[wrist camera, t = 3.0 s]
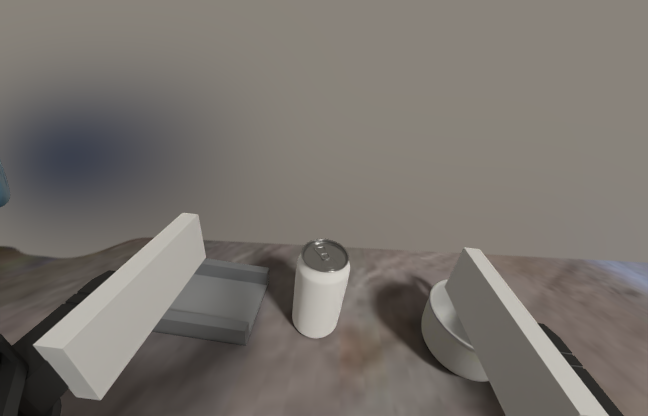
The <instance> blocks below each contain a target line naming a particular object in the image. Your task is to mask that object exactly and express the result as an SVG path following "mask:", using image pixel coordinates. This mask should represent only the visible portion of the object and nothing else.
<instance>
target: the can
mask: <svg viewBox="0 0 648 416" xmlns="http://www.w3.org/2000/svg"><path fill="white" fill-rule="evenodd" d="M349 272H350V264H349V254H348V252H347V250H346V249H345V248H344V247H343V246H342V245H341V244H339V243H337V242H335V241H332V240H328V239H316V240H313V241H310V242H308V243H307V244H305V245H304V247H303V248H302V251H301V254H300V255H299V257H298V260H297V266H296V276H295V287H294V298H293V310H292V320H293V323H294V326H295V327H296V329H297V330H298V331H299V332H300V333H301V334H303V335H305V336H307V337H311V338H322V337H325V336H327V335H328V334H330V333H331V332H332V331H333V330H334V329H335V327H336V325H337V321H338V318H339V314H340V310H341V306H342V302H343V298H344V294H345V290H346V285H347V281H348V277H349Z"/></svg>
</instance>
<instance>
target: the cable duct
mask: <svg viewBox="0 0 648 416" xmlns="http://www.w3.org/2000/svg"><path fill="white" fill-rule="evenodd" d="M140 250H141V249H140ZM140 250H139V251H140ZM139 251H138V252H139ZM138 252H137V253H138ZM137 253H136V254H137ZM268 283H269V268H267V267H261V266H254V265H247V264H240V263H234V262H227V261H220V260H214V259H207V258H205V259H204V261H203V262H202V263H201V265H200V266H199V267H198V269H197V270H196V272H195V273H194V274H193V276H192V277H191V278H190V280H189V281H188V282H187V284H186V285H185V286H184V288H183V289H182V291H181V292H180V293H179V295H178V296H177V297H176V299H175V300H174V301H173V303H172V304H171V306H170V307H169V308H168V310H167V311H166V312H165V314H164V315H163V316H162V318H161V319H160V320H159V322H158V323H157V325H156V326H155V327H154V329H153V330H152V331H153V332H159V333H166V334H172V335H179V336H186V337H192V338H199V339H205V340H212V341H219V342H225V343H232V344H238V345H245V346H246V344H247V341H248V338H249V336H250V333H251V330H252V327H253V325H254V322H255V319H256V316H257V313H258V311H259V308H260V305H261V302H262V300H263V297H264V294H265V291H266V288H267V286H268Z"/></svg>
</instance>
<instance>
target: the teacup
mask: <svg viewBox="0 0 648 416" xmlns="http://www.w3.org/2000/svg"><path fill="white" fill-rule="evenodd" d="M447 281H448V279H445V280H442V281H439V282H437V283H436V284H435V285H434V286H433V287H432V289H431V291H430V294H429V298H428V301H427V303H426V306H425V309H424V312H423V315H422V321H421V329H422V334H423V338H424V340H425V343H426V345H427V346H428V348H429V350H430V351H431V353H432V354H433V355H434V356H435V358H436V359H437V360H438V361H439V362H440V363H441V364H442V365H443V366H445V367H446V368H447V369H449V370H450V371H452V372H453V373H455V374H457V375H459V376H461V377H463V378H466V379H469V380H472V381H479V382H485V381H489V380H488V378H487V375H486V373H485V371H484V369H483V367H482V365H481V363H480V361H479V359H478V357H477V354H476V352H475V350H474V348H473V346H472V344H471V342H470V340H469V338H468V336H467V333H466V331H465V329H464V327H463V325H462V323H461V321H460V319H459V317H458V315H457V312H456V310H455V308H454V306H453V304H452V302H451V300H450V298H449V296H448V294H447V291H446V289H445V285H446V283H447Z"/></svg>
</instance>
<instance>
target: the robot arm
mask: <svg viewBox="0 0 648 416" xmlns="http://www.w3.org/2000/svg"><path fill="white" fill-rule="evenodd" d="M9 199H10V190H9V186H8V182H7V178H6V175H5V172H4V169H3V166H2V163H1V160H0V207H2V206H4V205H5V204H6V203H7V202H8V201H9ZM205 258H206V255H205V250H204V244H203V239H202V233H201V228H200V222H199V217H198V215H196V214H189V213H182V214H181V215H180V216H178V217H177V218H176V219H175V220H174V221H173V222H172V223H171V224H169V225H168V226H167V227H166V228H165V229H164V230H163V231H162V232H160V233H159V234H158V235H157V236H156V237H155V238H154V239H152V240H151V241H150V242H149V243H148V244H147V245H146V246H144V247H143V248H142V249H141V250H140V251H139V252H138V253H137V254H135V255H134V256H133V257H132V258H131V259H130V260H129V261H127V262H126V263H125V264H124V265H123V266H122V267H121V268H119V269H118V270H117V271H110V270H109V271H107V272H105V273H103V274H102V275H100V276H98V277H96V278H94V279H92V280H91V281H90V282H89V283H87V284H86V285H85V286H84V287H82V288H81V289H80V290H79V291H78V293H77V294H74V295H73V296H72V297H70V298H69V299H68V300H67V301H66V303H65V304H62V305H61V306H60V307H58V308H57V309H56V310H55V311H54V312H52V313H51V314H50V315H49V316H48V317H46V318H45V319H44V320H43V321H41V322H40V323H39V324H38V325H37V326H35V327H34V328H33V329H32V330H31V331H29V332H28V333H27V334H26V335H25V336H23V337H22V338H21V339H20V340H19V341H17V342H16V343H15V344H14V345H12V346H11V345H10V343H9V342H8V341H7V340H6V339H5V338H4V337H3V336H2V335H1V334H0V416H60V413H61V400H60V397H61V396H62V395H63V393H64V392H65V391H66V390H67V389H68V388H69V389H70V390H71V391H72V393H73V394H74V395H75V396H76V397H79V398H86V399H94V400H101V399H102V398H103V397H104V395H105V394H106V393H107V391H108V390H109V388H110V387H111V386H112V384H113V383H114V382H115V380H116V379H117V378H118V376H119V375H120V373H121V372H122V371H123V369H124V368H125V367H126V365H127V364H128V363H129V361H130V360H131V359H132V357H133V356H134V354H135V353H136V352H137V350H138V349H139V348H140V346H141V345H142V344H143V342H144V341H145V339H146V338H147V337H148V335H149V334H150V333H151V331H152V330H153V329H154V327H155V326H156V325H157V323H158V322H159V320H160V319H161V318H162V316H163V315H164V314H165V312H166V311H167V310H168V308H169V307H170V306H171V304H172V303H173V301H174V300H175V299H176V297H177V296H178V295H179V293H180V292H181V291H182V289H183V288H184V286H185V285H186V284H187V282H188V281H189V280H190V278H191V277H192V276H193V274H194V273H195V272H196V270H197V269H198V267H199V266H200V265H201V263H202V262H203V261H204V259H205ZM445 289H446V291H447V294H448V296H449V298H450V300H451V302H452V304H453V306H454V308H455V310H456V312H457V315H458V317H459V319H460V321H461V323H462V325H463V327H464V329H465V331H466V333H467V336H468V338H469V340H470V342H471V344H472V346H473V348H474V350H475V352H476V354H477V357H478V359H479V361H480V363H481V365H482V367H483V369H484V371H485V373H486V375H487V378H488V380H489V382H490V384H491V386H492V388H493V390H494V392H495V394H496V396H497V399H498V401H499V403H500V405H501V407H502V409H503V411H504V413H505V415H506V416H623V414H622V413H621V412H620V411H619V410H618V408H617V407H616V406H615V405H614V403H613V402H612V401H611V400H610V399H609V397H608V396H607V395H606V394H605V392H604V391H603V390H602V389H601V388H600V386H599V385H598V384H597V383H596V381H595V380H594V379H593V378H592V377H591V375H590V374H589V373H588V372H587V370H586V369H583V367H582V364H581V363H580V362H579V361H578V359H577V358H576V357H575V356H573V355H572V352H571V351H570V350H569V348H568V347H567V346H566V345H565V344H564V342H563V341H562V340H561V339H560V337H558V336H557V335H556V334H555V333H554V332H552V331H551V330H550V329H549V328H548V327H547V326H545V325H544V324H540V323H537V322H536V321H535V320H534V319H533V317H532V316H531V315H530V313H529V312H528V311H527V310H526V308H525V307H524V306H523V304H522V303H521V302H520V301H519V299H518V298H517V297H516V295H515V294H514V293H513V292H512V290H511V289H510V288H509V286H508V285H507V284H506V283H505V281H504V280H503V279H502V277H501V276H500V275H499V273H498V272H497V271H496V270H495V268H494V267H493V266H492V264H491V263H490V262H489V261H488V259H487V258H486V257H485V255H484V254H483V253H482V252H481V250H480V249H473V248H465V247H464V249H463V251H462V253H461V255H460V257H459V259H458V261H457V263H456V265H455V267H454V269H453V271H452V273H451V275H450V277H449V279H448V281H447V283H446V285H445Z"/></svg>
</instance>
